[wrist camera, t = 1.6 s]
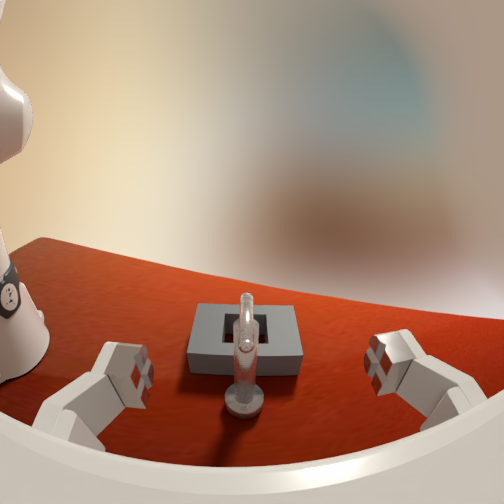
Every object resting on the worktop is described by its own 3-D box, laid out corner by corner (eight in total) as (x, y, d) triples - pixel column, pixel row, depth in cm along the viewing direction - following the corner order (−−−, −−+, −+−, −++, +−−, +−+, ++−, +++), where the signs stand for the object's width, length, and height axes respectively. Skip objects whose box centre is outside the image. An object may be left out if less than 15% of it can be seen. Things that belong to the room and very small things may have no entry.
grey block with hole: (190, 372, 33) (186, 352, 31) (200, 323, 42) (198, 303, 40) (298, 375, 33) (303, 355, 31) (290, 325, 42) (293, 305, 40)
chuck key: (223, 428, 26) (216, 344, 19) (226, 380, 32) (223, 289, 26) (263, 429, 26) (276, 346, 19) (261, 381, 32) (270, 290, 26)
